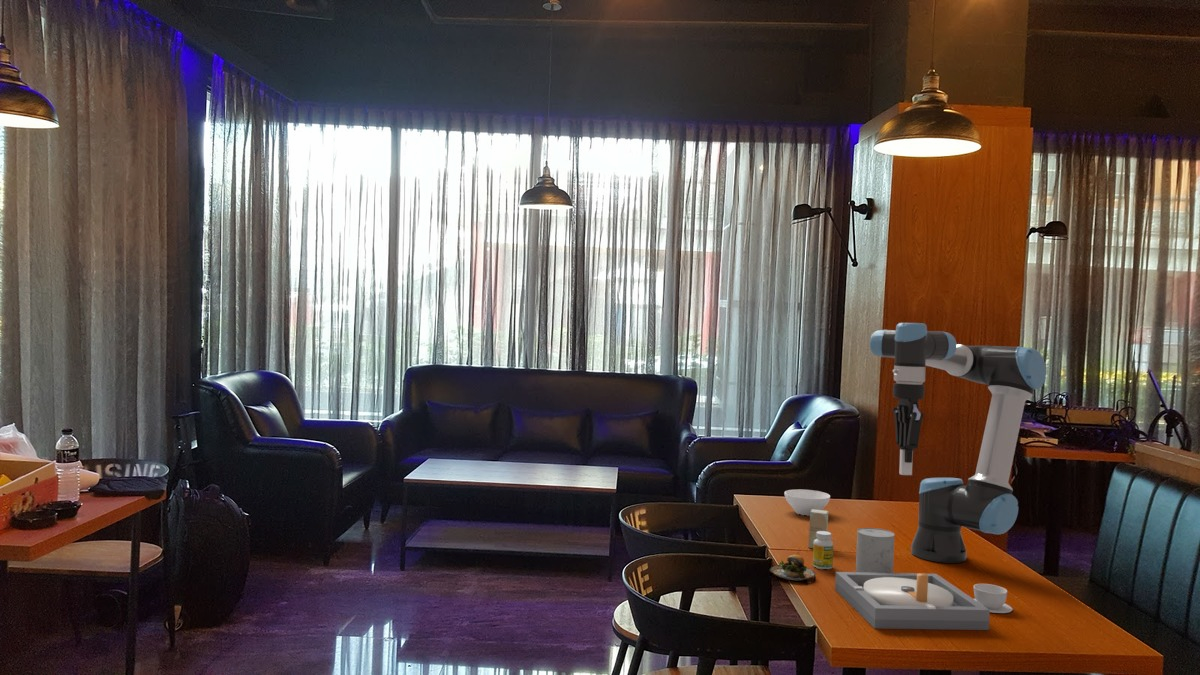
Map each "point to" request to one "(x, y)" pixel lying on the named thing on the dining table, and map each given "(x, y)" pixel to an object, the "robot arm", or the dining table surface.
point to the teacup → (992, 597)
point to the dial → (907, 591)
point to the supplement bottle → (823, 550)
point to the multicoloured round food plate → (793, 569)
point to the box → (817, 524)
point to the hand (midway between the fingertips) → (905, 474)
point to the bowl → (806, 500)
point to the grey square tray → (954, 617)
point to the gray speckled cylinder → (875, 550)
